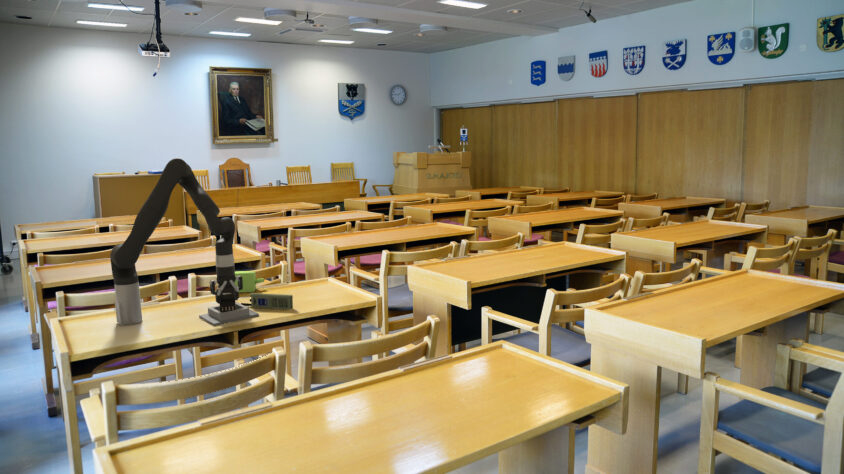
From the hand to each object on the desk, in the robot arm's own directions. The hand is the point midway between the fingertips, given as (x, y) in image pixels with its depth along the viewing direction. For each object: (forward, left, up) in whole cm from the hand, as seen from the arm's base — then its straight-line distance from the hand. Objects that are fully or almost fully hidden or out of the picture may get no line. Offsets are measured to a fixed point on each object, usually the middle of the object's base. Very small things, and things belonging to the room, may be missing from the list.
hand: (227, 301), depth 269 cm
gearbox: (+26, +37, -7) cm, 45 cm away
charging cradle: (0, 0, -7) cm, 7 cm away
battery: (0, 0, -5) cm, 5 cm away
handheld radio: (+19, +1, -7) cm, 20 cm away
